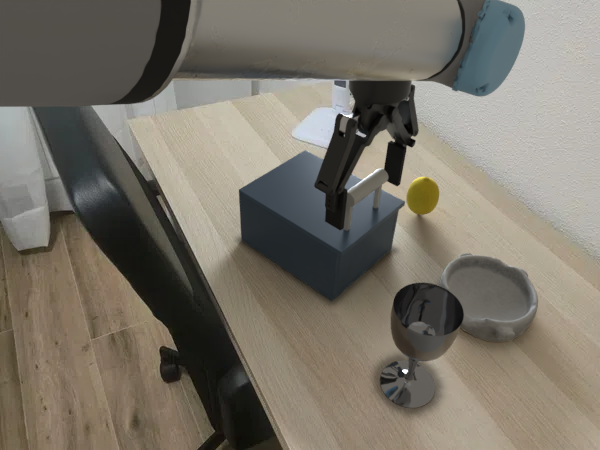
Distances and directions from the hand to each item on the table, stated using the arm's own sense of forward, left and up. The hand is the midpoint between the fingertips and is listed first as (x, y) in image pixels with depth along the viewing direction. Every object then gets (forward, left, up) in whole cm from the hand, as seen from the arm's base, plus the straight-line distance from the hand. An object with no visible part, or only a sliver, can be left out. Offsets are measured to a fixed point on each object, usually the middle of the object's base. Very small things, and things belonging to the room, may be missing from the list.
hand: (364, 202), depth 79 cm
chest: (0, +8, -14) cm, 16 cm away
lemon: (+19, 0, -14) cm, 23 cm away
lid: (0, +8, -4) cm, 9 cm away
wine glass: (-12, -18, -14) cm, 26 cm away
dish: (+7, -19, -14) cm, 24 cm away
